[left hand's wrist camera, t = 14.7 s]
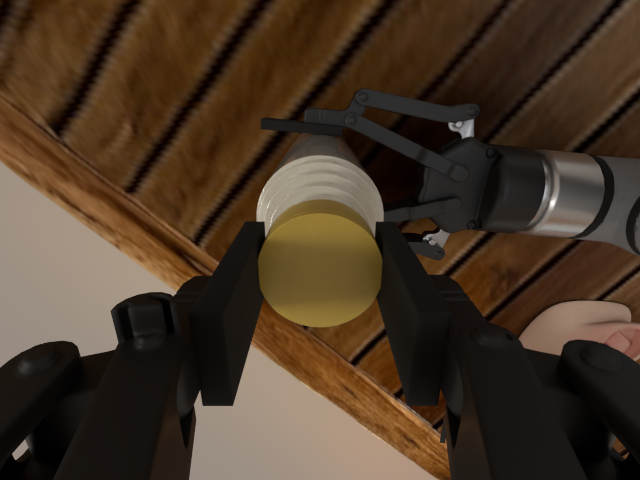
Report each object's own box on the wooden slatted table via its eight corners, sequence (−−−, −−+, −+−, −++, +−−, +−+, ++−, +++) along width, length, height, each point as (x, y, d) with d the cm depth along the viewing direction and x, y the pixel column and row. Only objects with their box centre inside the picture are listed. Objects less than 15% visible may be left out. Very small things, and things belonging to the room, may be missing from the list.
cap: (376, 195, 13) (385, 209, 12) (375, 299, 15) (382, 325, 13) (258, 201, 13) (249, 216, 12) (270, 303, 15) (263, 329, 13)
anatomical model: (521, 386, 43) (562, 307, 38) (505, 364, 46) (541, 289, 42) (621, 402, 44) (672, 326, 39) (598, 379, 47) (642, 307, 43)
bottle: (354, 187, 38) (413, 333, 14) (293, 195, 38) (249, 350, 14) (348, 123, 35) (407, 167, 12) (283, 132, 36) (210, 192, 12)
